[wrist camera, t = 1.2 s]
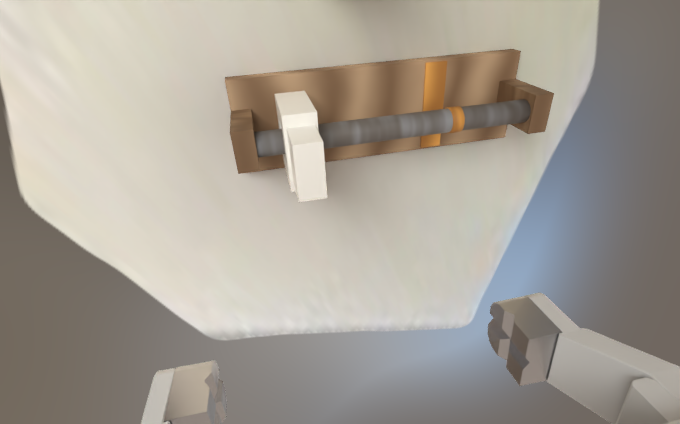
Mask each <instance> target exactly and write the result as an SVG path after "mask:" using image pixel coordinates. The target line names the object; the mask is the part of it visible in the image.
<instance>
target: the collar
mask: <svg viewBox="0 0 680 424" xmlns="http://www.w3.org/2000/svg"><path fill="white" fill-rule="evenodd" d="M274 95H275V102H276V109H277V117H278V124H279V129H282V133H283V141H284V149H285V154H283V161H284V165H285V169H286V173H287V177H288V181H289V185H290V189H291V192H295V191H296V193H297V197H298V201H299V202H305V201H311V200H318V199H324V198H327V185H326V172H325V158H324V145H323V140H322V138H321V136H320V134H319V130H318V117H317V111H316V109H315V107H314V106H313V104H312V102H311V101H310V99H309V97H308V95H307V94H306V92H305V91H296V92H287V93H277V94H274Z"/></svg>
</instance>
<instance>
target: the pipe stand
mask: <svg viewBox="0 0 680 424" xmlns="http://www.w3.org/2000/svg"><path fill="white" fill-rule="evenodd" d="M520 52H521V51H518V50H514V49H508V50H498V51H488V52H478V53H467V54H457V55H447V56H437V57H427V58H417V59H406V60H396V61H386V62H376V63H366V64H355V65H345V66H335V67H325V68H315V69H304V70H294V71H284V72H274V73H264V74H253V75H243V76H233V77H225V83H226V89H227V94H228V99H229V104H230V109H231V121H230V135H231V140H232V145H233V150H234V154H235V159H236V164H237V169H238V174H240V173H248V172H256V171H263V170H270V169H277V168H285V165H284V161H283V154H285V149H284V141H283V133H282V129H279V124H278V117H277V109H276V102H275V95H274V94H277V93H287V92H296V91H305V92H306V94H307V95H308V97H309V99H310V101H311V102H312V104H313V106H314V107H315V109H316V111H317V117H318V130H319V134H320V136H321V138H322V140H323V145H324V158H325V162H328V161H335V160H343V159H350V158H357V157H364V156H372V155H379V154H386V153H393V152H401V151H408V150H415V149H422V148H429V147H437V146H444V145H451V144H458V143H466V142H473V141H480V140H487V139H495V138H502V137H505V134H506V129H507V125H508V124H511V125H513V126H515V127H517V128H518V129H520V130H522V131H524V132H526V133H528V134H530V133H537V132H544V131H545V129H546V125H547V121H548V116H549V112H550V108H551V104H552V100H553V96H554V93H552V92H549V91H546V90H544V89H541V88H538V87H535V86H533V85H530V84H527V83H525V82H522V81H519V80H517V79H516V74H517V69H518V63H519V58H520Z"/></svg>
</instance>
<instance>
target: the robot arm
mask: <svg viewBox="0 0 680 424" xmlns="http://www.w3.org/2000/svg"><path fill="white" fill-rule="evenodd" d="M490 314H491V315H492V316H493V319H492V320H491V322H490V323H489V324H488V337H489V341H490V343H491V346H492V348H493V349H494V351H495V352H496V354H497V355H498V356H500V357H502V358H504V359H505V360H507V364H506V367H507V369H508V371H509V372H510V373H511V374H512V376H513V377H514V379H515V380H516V381H517V383H518V384H519V386H522V385H527V384H531V383H536V382H541V381H546V380H547V382H548V383H550V384H551V385H553V386H554V387H556V388H558V389H559V390H561V391H562V392H564V393H565V394H567V395H568V396H570V397H571V398H573V399H575V400H576V401H578V402H579V403H581V404H582V405H584V406H585V407H587V408H589V409H590V410H592V411H594V412H595V413H596V414H598V415H599V416H601V417H603V418H604V419H606V420H607V421H609V422H610V423H612V424H680V367H679V366H676V365H674V364H671V363H669V362H666V361H664V360H662V359H659V358H656V357H654V356H651V355H649V354H647V353H644V352H642V351H640V350H637V349H635V348H632V347H630V346H627V345H625V344H623V343H620V342H618V341H615V340H613V339H610V338H608V337H606V336H603V335H601V334H598V333H596V332H593V331H591V330H589V329H586V328H583V329H580V328H579V327H578V326H577V325H576V324H575V323H574V322H572V321H571V320H570V319H569V318H568V317H567V316H566V315H565V314H564V313H563V312H562V311H561V310H560V309H559V308H558V307H557V306H556V305H555V304H553V302H551V301H550V300H549V299H548V298H547V297H546V296H545V295H544V294H542V293H536V294H531V295H526V296H523V297H518V298H512V299H508V300H503V301H499V302H494V303H493V304H492V306H491V309H490ZM218 377H219V368H218V365H217V362H216V361H209V362H204V363H198V364H192V365H187V366H181V367H177V368H173V369H167V370H162V371H157V373H156V374H155V376H154V378H153V382H152V385H151V389H150V392H149V396H148V399H147V403H146V407H145V410H144V414H143V418H142V421H141V424H222V422H223V421H224V419H225V418H226V413H227V402H226V392H225V387H224V384H223V381H222V380H220V379H218Z"/></svg>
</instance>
